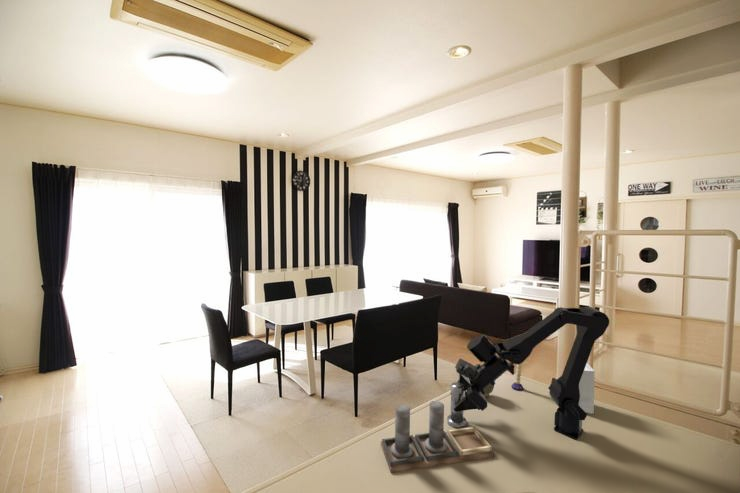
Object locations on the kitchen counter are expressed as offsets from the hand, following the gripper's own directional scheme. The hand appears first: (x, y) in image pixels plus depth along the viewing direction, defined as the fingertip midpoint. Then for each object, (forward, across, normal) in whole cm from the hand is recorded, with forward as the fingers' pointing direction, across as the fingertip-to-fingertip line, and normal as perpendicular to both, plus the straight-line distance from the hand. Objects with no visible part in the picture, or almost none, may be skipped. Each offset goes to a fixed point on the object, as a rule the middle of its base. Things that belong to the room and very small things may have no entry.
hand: (452, 402), depth 107 cm
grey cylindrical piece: (+4, 0, +6) cm, 7 cm away
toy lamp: (-15, -25, +25) cm, 38 cm away
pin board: (+9, +14, 0) cm, 17 cm away
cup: (-5, -18, +14) cm, 24 cm away
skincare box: (-28, -15, +37) cm, 49 cm away
